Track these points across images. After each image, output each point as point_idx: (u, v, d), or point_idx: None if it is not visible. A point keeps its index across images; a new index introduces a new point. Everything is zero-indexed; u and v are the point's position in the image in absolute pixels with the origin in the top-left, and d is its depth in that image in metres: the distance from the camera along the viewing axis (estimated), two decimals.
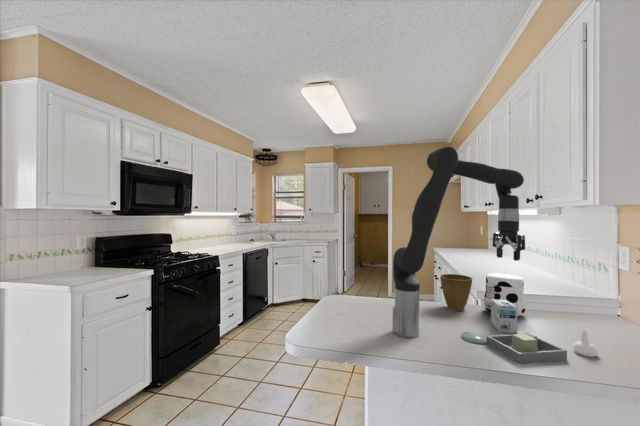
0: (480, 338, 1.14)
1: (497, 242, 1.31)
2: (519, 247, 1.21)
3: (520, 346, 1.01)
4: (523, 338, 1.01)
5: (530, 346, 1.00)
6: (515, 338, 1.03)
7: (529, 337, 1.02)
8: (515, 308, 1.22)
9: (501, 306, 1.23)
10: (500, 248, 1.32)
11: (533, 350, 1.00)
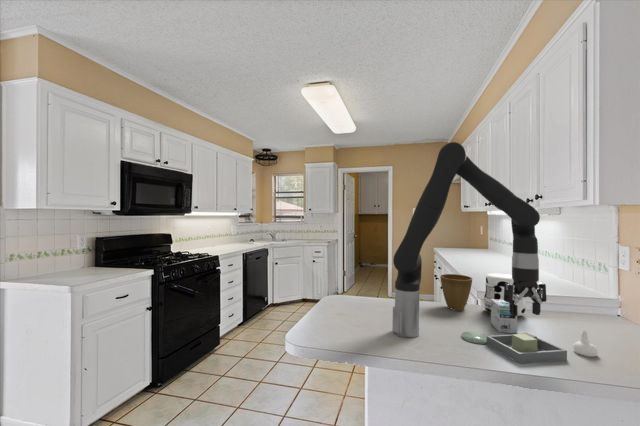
0: (480, 338, 1.14)
1: (519, 297, 1.01)
2: (545, 298, 1.03)
3: (520, 346, 1.01)
4: (523, 338, 1.01)
5: (530, 346, 1.00)
6: (515, 338, 1.03)
7: (529, 337, 1.02)
8: None
9: (501, 306, 1.23)
10: None
11: (533, 350, 1.00)
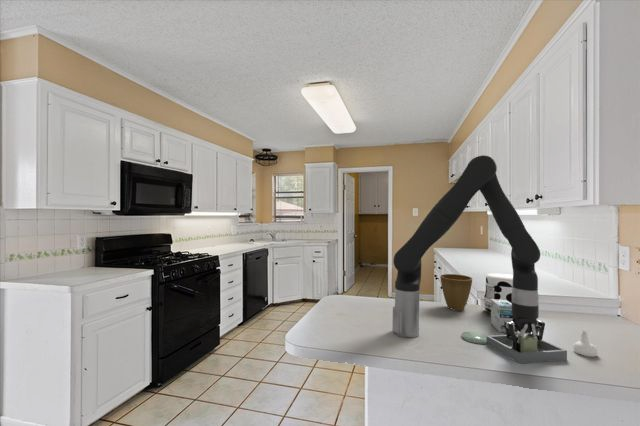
0: (480, 338, 1.14)
1: (520, 335, 1.01)
2: (541, 337, 1.02)
3: (520, 346, 1.01)
4: (523, 338, 1.01)
5: (530, 346, 1.00)
6: None
7: (529, 337, 1.02)
8: None
9: (501, 306, 1.23)
10: None
11: (533, 350, 1.00)
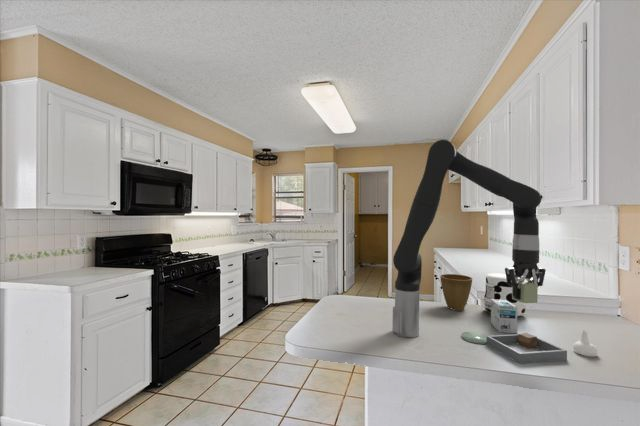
0: (480, 338, 1.14)
1: (521, 280, 1.01)
2: (541, 283, 1.03)
3: None
4: (523, 283, 1.02)
5: (530, 291, 1.00)
6: None
7: (529, 283, 1.03)
8: (515, 308, 1.22)
9: (501, 306, 1.23)
10: None
11: (533, 295, 1.01)
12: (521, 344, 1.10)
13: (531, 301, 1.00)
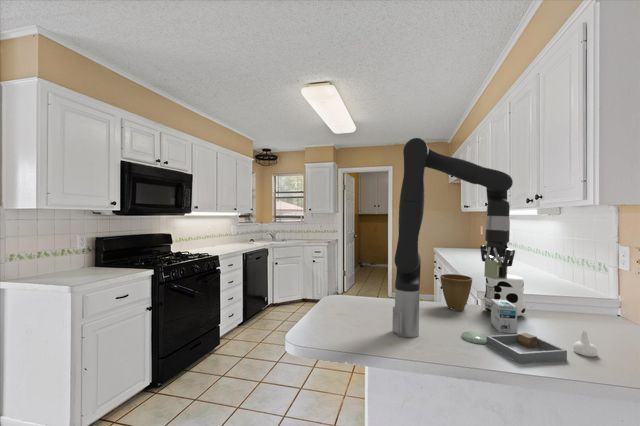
0: (480, 338, 1.14)
1: (486, 256, 1.13)
2: (505, 263, 1.05)
3: None
4: (490, 260, 1.12)
5: (489, 266, 1.10)
6: None
7: (497, 261, 1.09)
8: (515, 308, 1.22)
9: (501, 306, 1.23)
10: None
11: (491, 271, 1.09)
12: (521, 344, 1.10)
13: (490, 276, 1.10)
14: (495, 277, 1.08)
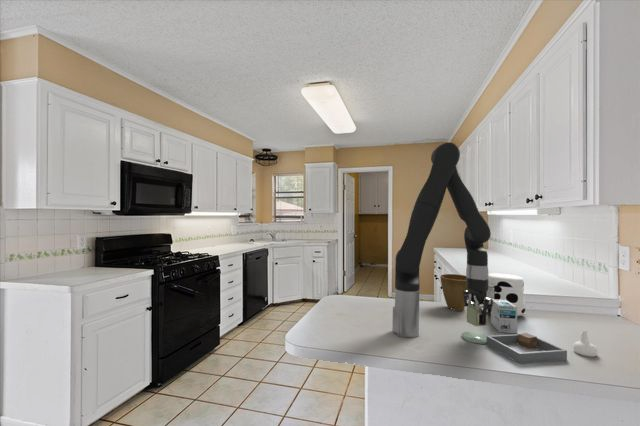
0: (480, 338, 1.14)
1: None
2: (484, 311, 1.10)
3: None
4: (471, 306, 1.17)
5: (470, 313, 1.15)
6: None
7: (477, 308, 1.14)
8: (515, 308, 1.22)
9: (501, 306, 1.23)
10: None
11: (472, 318, 1.14)
12: (521, 344, 1.10)
13: (471, 323, 1.15)
14: (476, 324, 1.13)
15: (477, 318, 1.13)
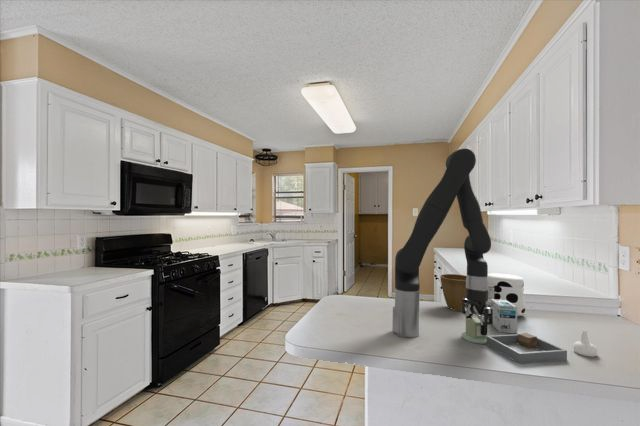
0: None
1: (466, 310, 1.19)
2: (485, 322, 1.09)
3: None
4: (470, 319, 1.17)
5: (469, 326, 1.16)
6: None
7: (476, 321, 1.15)
8: (515, 308, 1.22)
9: (501, 306, 1.23)
10: (470, 317, 1.20)
11: (471, 330, 1.15)
12: (521, 344, 1.10)
13: (470, 335, 1.15)
14: (475, 337, 1.13)
15: (476, 331, 1.13)
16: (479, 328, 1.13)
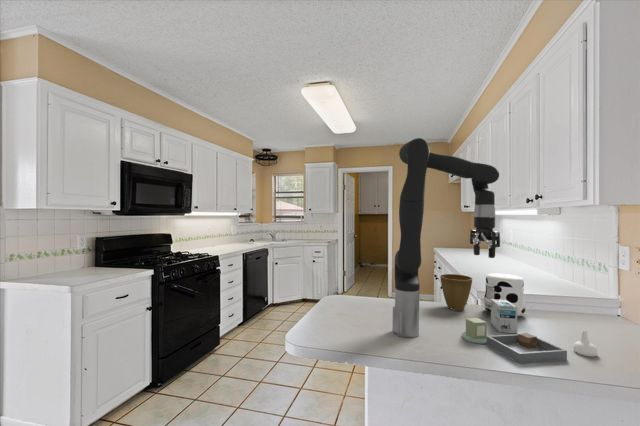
0: None
1: (474, 239, 1.27)
2: (493, 244, 1.17)
3: None
4: (470, 319, 1.17)
5: (469, 326, 1.16)
6: None
7: (476, 321, 1.15)
8: (515, 308, 1.22)
9: (501, 306, 1.23)
10: (477, 245, 1.28)
11: (471, 330, 1.15)
12: (521, 344, 1.10)
13: (470, 335, 1.15)
14: (475, 337, 1.13)
15: (476, 331, 1.13)
16: (479, 328, 1.13)
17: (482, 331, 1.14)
